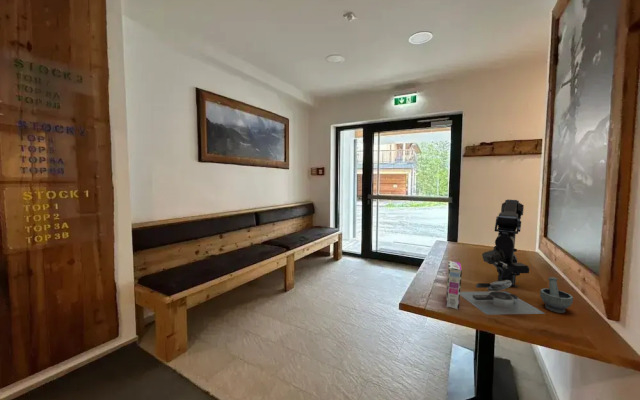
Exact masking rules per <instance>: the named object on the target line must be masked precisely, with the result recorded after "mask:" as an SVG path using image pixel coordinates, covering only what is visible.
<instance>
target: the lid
mask: <svg viewBox="0 0 640 400" xmlns="http://www.w3.org/2000/svg"><path fill="white" fill-rule="evenodd" d="M511 285H512V283H511V281H510V280H499V281H498V280H496V281H493V282H490V283H489V282H486V283H485V282H483V283H482V282H481V283H476V284H475V287H476V288H477V289H481V288H484V289H486V288H487V290H488V292H489V291H504V290H506V289H508V288H511V287H510V286H511Z"/></svg>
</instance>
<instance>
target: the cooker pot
mask: <svg viewBox="0 0 640 400" xmlns="http://www.w3.org/2000/svg"><path fill="white" fill-rule="evenodd" d="M499 291H500V290H499ZM499 291H489V290H488V292H489V293H488V295H473V298H474V299H475V300H487V301H488V302H489V303H491V304H492V305H495V306H498V307H502V308H512V307H513V302H514V299H518V298H519V296H518V295H516V294H514V293H513V294H512V293H510V294H507V293H503V292H499Z"/></svg>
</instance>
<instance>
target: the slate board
mask: <svg viewBox="0 0 640 400" xmlns="http://www.w3.org/2000/svg"><path fill="white" fill-rule="evenodd" d="M499 292H503V293H507V294H511V293H510V292H508V291H507V290H506V291H504V290H499ZM488 293H489V291H460V297H462V298H464V299H465V301H468V302H469V303H470V304H471V305H473V306H474V307H475V308H477V309H478V310H479V311H480V312H482V313H484V315H485V316H486V315H491V316H492V315H493V316H494V315H536V314H537V315H538V314H539V315H540V314H541V315H543V314H546V313H545V312H543V311H542V310H540V309H539V308H537V307H535V306H534V305H532V304H529V303H528V302H526V301H524V300H523V299H520V298H519V297H518V299H514V302H513V307H512V308H502V307H498V306H495V305H492V304H491V303H489V302H488V301H487V300H475V299H474V298H473V295H488Z"/></svg>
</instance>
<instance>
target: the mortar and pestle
mask: <svg viewBox="0 0 640 400" xmlns="http://www.w3.org/2000/svg"><path fill="white" fill-rule="evenodd" d="M547 279H548V282H549V285H548V286H549V288H541V289H540V291H539V294H540V295H539V296H540V298H541V300H542V302H543V303H544V304H545V305H544V307H545V309H547V310H549V311H551V312H554V313H559V314H564V313H566V309H568V308H570V307H571V306H572V304H573V302H574V297H573V295H572V294H570V293H568V292H565V291H563V290H559V286H558V278H557V277H555V276H551V277H548V278H547Z"/></svg>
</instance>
